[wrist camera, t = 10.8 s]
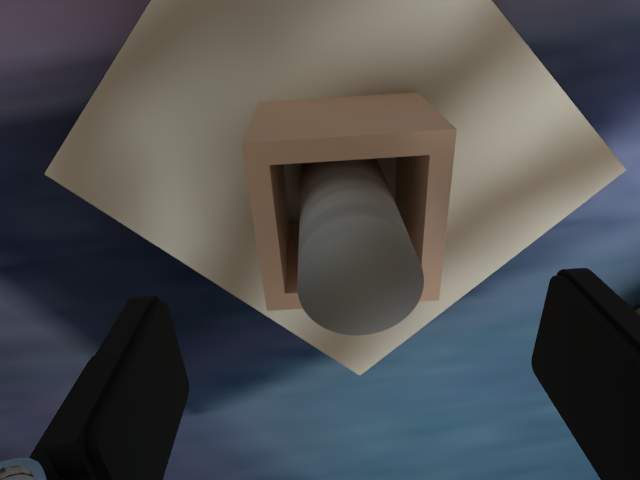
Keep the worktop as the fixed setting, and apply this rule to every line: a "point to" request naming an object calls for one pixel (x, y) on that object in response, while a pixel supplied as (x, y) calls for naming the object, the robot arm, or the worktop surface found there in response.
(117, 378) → the robot arm
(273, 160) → the collar
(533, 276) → the worktop surface
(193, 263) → the base
